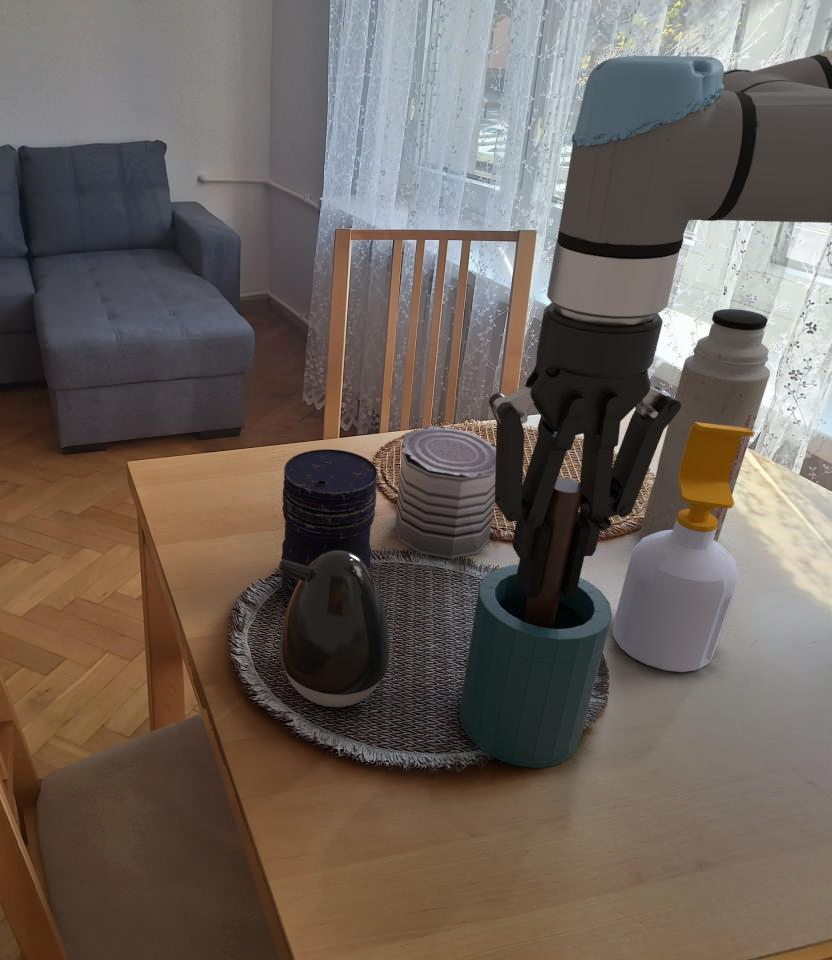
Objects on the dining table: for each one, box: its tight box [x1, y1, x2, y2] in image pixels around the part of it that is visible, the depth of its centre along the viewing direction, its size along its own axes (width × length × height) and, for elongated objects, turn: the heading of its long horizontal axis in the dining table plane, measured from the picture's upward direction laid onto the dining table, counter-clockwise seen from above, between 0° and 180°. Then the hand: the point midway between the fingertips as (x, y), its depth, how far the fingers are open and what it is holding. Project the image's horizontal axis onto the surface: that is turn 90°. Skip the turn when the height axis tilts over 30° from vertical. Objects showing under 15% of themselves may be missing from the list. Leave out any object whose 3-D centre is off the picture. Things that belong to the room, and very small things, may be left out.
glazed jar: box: [459, 564, 613, 769], centre depth 74 cm, size 10×10×14 cm
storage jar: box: [280, 448, 378, 602], centre depth 93 cm, size 10×10×15 cm
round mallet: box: [523, 477, 583, 629], centre depth 71 cm, size 5×5×24 cm
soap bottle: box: [612, 422, 755, 673], centre depth 80 cm, size 9×9×25 cm
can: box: [394, 425, 496, 560], centre depth 103 cm, size 11×11×12 cm
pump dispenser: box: [278, 549, 390, 708], centre depth 79 cm, size 10×10×15 cm
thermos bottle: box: [639, 308, 771, 542], centre depth 95 cm, size 8×8×28 cm
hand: (545, 586), depth 70 cm, fingers closed on round mallet, 2 cm apart
